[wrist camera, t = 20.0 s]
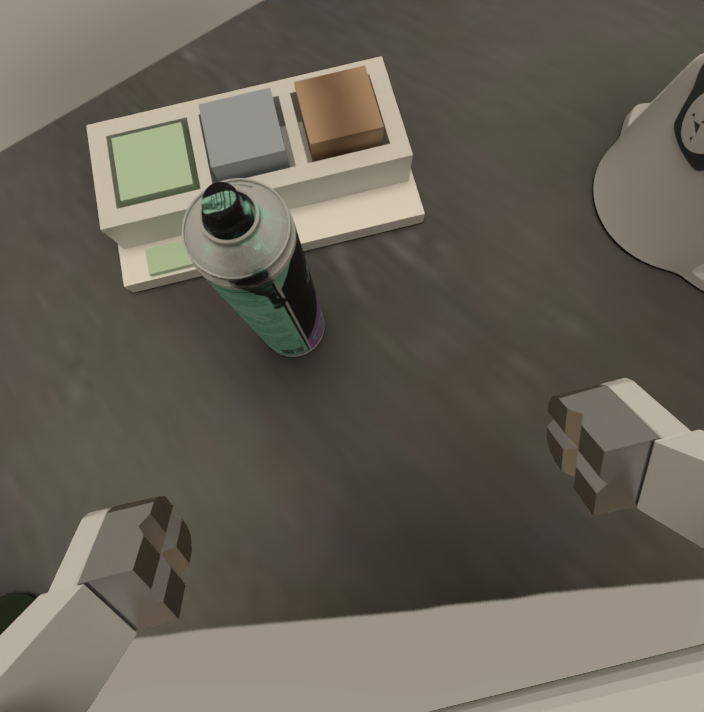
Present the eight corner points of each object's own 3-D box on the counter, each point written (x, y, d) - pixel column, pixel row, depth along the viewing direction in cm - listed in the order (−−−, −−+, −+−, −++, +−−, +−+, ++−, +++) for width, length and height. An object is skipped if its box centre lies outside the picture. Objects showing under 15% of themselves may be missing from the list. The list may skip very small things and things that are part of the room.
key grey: (278, 119, 39) (270, 87, 35) (292, 177, 37) (285, 150, 34) (213, 134, 38) (198, 104, 35) (225, 193, 37) (211, 167, 34)
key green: (196, 149, 40) (181, 122, 36) (208, 207, 39) (192, 183, 35) (133, 164, 40) (111, 138, 36) (142, 222, 38) (120, 200, 35)
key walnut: (365, 98, 39) (365, 65, 35) (382, 155, 38) (383, 126, 34) (300, 114, 39) (293, 82, 35) (315, 171, 37) (310, 144, 34)
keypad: (383, 96, 42) (385, 50, 37) (422, 222, 39) (430, 190, 35) (113, 159, 42) (79, 121, 37) (133, 292, 39) (99, 270, 34)
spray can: (337, 329, 38) (310, 202, 18) (289, 370, 37) (206, 284, 17) (297, 285, 39) (230, 119, 19) (250, 324, 38) (129, 194, 18)
